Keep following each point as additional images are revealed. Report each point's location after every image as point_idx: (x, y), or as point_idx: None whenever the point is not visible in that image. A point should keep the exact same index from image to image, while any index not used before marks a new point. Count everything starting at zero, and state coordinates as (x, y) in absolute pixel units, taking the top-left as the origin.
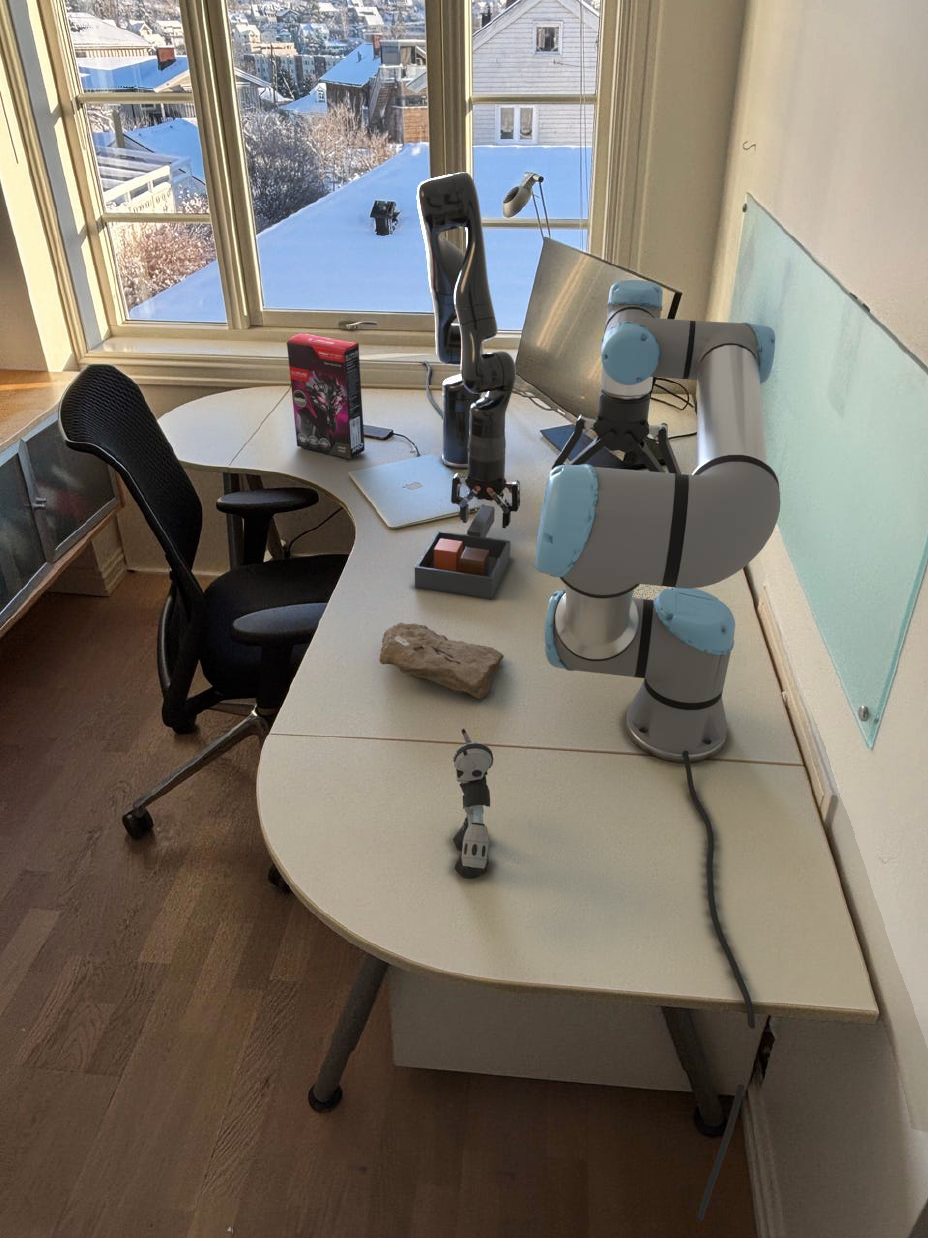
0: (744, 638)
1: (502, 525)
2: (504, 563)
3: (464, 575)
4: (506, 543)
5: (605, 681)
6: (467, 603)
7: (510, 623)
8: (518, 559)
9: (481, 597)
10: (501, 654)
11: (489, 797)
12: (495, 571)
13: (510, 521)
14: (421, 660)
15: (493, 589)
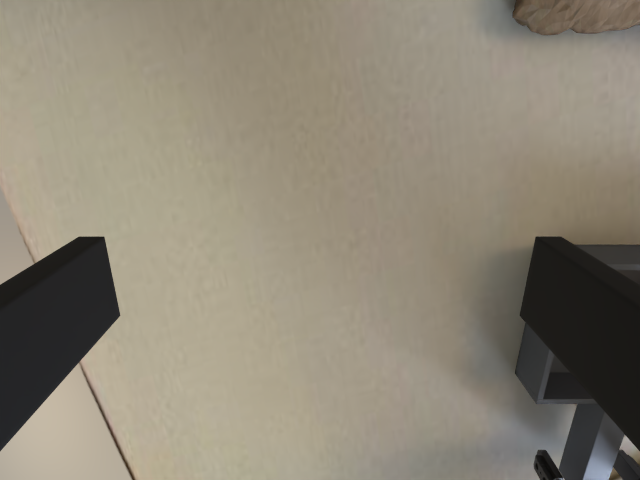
0: (62, 244)
1: (548, 454)
2: (532, 347)
3: (630, 263)
4: (543, 393)
5: (284, 19)
6: (589, 219)
7: (499, 174)
8: (498, 380)
9: None
10: (520, 14)
11: None
12: None
13: (534, 467)
14: None
15: None
